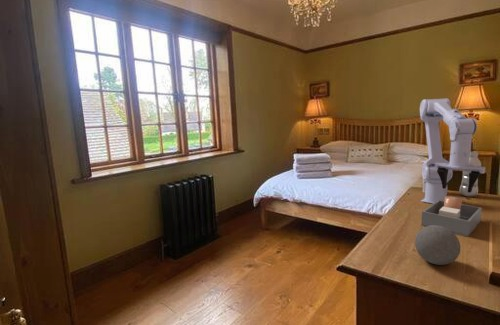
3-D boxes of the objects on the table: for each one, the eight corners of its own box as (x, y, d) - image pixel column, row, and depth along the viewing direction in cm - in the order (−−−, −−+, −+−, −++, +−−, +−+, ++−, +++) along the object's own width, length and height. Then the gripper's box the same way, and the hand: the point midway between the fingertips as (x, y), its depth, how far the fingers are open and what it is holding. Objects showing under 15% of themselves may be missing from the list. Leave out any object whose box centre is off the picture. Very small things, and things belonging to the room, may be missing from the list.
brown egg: (444, 213, 107) (446, 195, 105) (460, 216, 103) (462, 198, 102) (441, 217, 103) (443, 198, 102) (458, 220, 100) (460, 201, 99)
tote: (437, 212, 110) (438, 199, 109) (480, 221, 100) (481, 207, 99) (421, 225, 99) (422, 211, 98) (467, 236, 89) (469, 221, 88)
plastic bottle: (460, 192, 133) (464, 150, 129) (478, 195, 128) (483, 151, 124) (457, 196, 128) (461, 152, 125) (476, 199, 123) (481, 153, 120)
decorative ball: (468, 269, 72) (472, 231, 70) (435, 275, 70) (438, 237, 68) (435, 250, 81) (438, 217, 80) (405, 255, 79) (407, 221, 78)
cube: (442, 219, 101) (443, 206, 100) (459, 223, 98) (460, 209, 97) (437, 224, 98) (439, 210, 97) (455, 227, 94) (456, 213, 94)
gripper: (433, 152, 104) (430, 188, 107) (483, 156, 94) (479, 196, 96) (439, 150, 109) (436, 184, 111) (488, 153, 98) (483, 191, 101)
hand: (456, 189), depth 104 cm, fingers open, 7 cm apart
